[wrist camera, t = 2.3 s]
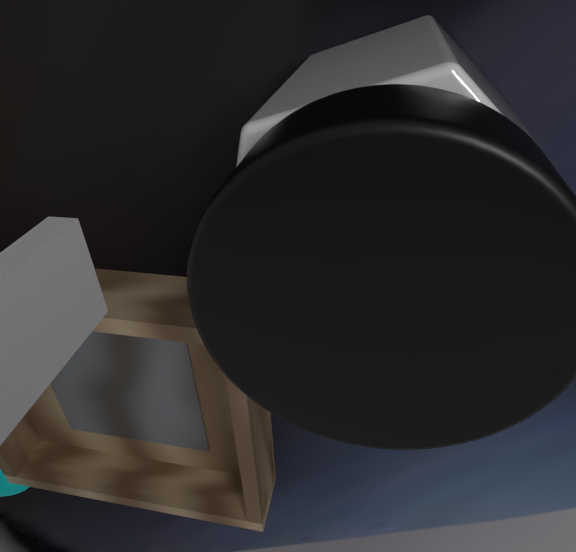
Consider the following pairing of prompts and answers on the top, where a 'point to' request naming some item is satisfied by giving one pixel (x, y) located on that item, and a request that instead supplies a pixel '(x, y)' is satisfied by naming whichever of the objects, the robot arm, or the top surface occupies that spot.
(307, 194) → the jar
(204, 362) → the crate
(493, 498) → the top surface
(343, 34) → the top surface
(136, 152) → the top surface
